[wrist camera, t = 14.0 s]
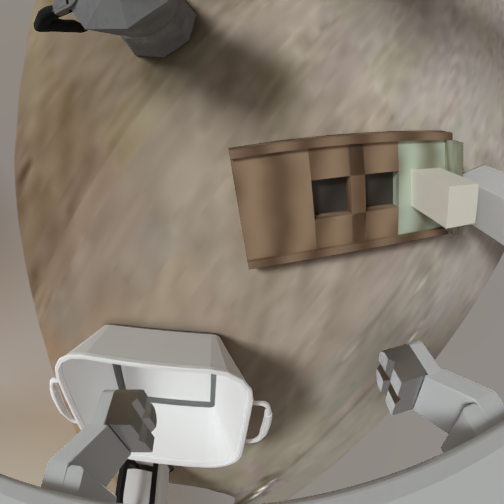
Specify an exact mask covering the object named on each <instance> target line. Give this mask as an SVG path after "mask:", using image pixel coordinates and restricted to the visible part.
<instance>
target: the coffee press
mask: <svg viewBox="0 0 504 504" xmlns="http://www.w3.org/2000/svg"><path fill="white" fill-rule="evenodd" d="M169 468H170V469H171V471H172V470H173V467H172V466H167V465H166V464H158V463H150V462H143V461H136V460H130V459H127V460H126V461H125V463H124V464H123V465H122V467H121V468H120V470H119V475H118V481H117V487H116V497H117V500H116V503H123V504H167V497H168V483H169V473H170V472H171V471H170V472H169Z"/></svg>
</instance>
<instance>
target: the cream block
mask: <svg viewBox="0 0 504 504" xmlns="http://www.w3.org/2000/svg"><path fill="white" fill-rule="evenodd" d="M478 188H479V184H478V183H476V182H474V181H471V180H469V179H467V178H464V177H462V176H459V175H457V174H454V173H452V172H449V171H447V170H444V169H442V168H428V169H415V170H411V206H412V207H414V208H415V209H417V210H419V211H420V212H422V213H423V214H425V215H426V216H428V217H429V218H431V219H433V220H434V221H436V222H437V223H439V224H440V225H442V226H443V227H445V228H446V229H447V228H452V227H457V226H463V225H468V224H474V223H475V220H476V211H477V201H478Z"/></svg>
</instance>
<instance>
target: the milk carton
mask: <svg viewBox="0 0 504 504" xmlns="http://www.w3.org/2000/svg"><path fill="white" fill-rule="evenodd" d="M463 177H464V178H467V179H469V180H471V181H474V182H476V183H478V184H479V188H478V201H477V211H476V220H475V223H474V224H471V225H473V226H475V227H476V228H478V229H479V230H481V231H482V232H484V233H485V234H487V235H489V236H490V237H492V238H493V239H495V240H496V241H498V242H499V243H501V244H502V245H504V172H502V171H499V170H497V169H494V168H491V167H488V166H486V165H484V166H481V167H479V168H476V169H474V170H471V171H468V172H466V173H463Z"/></svg>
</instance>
